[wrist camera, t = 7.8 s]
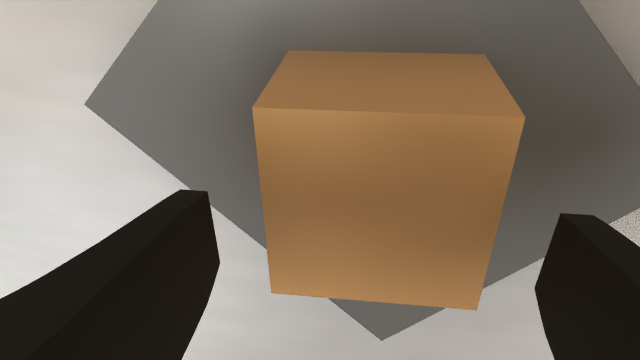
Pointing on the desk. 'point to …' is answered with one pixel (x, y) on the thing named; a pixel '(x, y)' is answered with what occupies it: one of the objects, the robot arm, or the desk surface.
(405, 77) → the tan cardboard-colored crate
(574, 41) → the plate
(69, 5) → the desk surface
